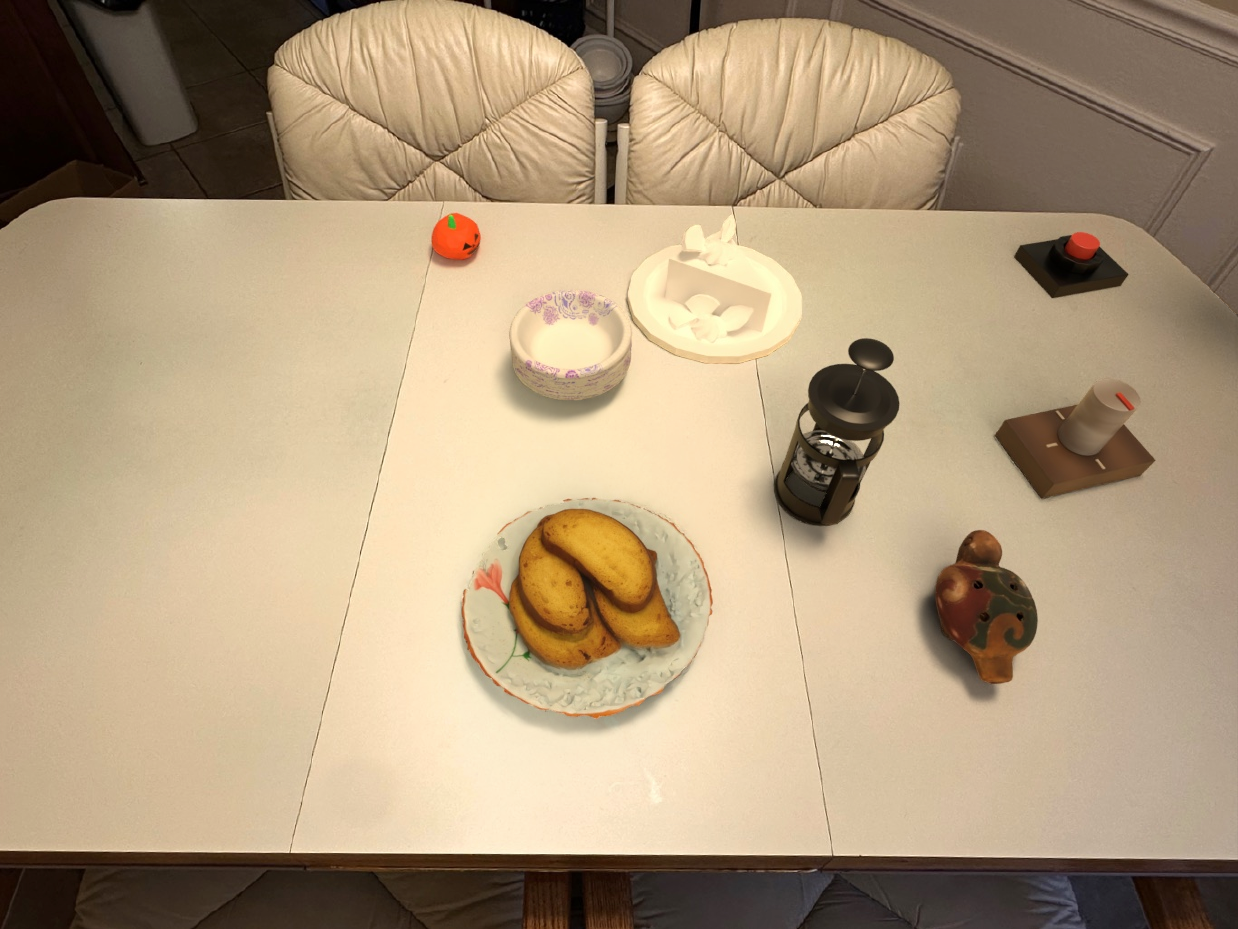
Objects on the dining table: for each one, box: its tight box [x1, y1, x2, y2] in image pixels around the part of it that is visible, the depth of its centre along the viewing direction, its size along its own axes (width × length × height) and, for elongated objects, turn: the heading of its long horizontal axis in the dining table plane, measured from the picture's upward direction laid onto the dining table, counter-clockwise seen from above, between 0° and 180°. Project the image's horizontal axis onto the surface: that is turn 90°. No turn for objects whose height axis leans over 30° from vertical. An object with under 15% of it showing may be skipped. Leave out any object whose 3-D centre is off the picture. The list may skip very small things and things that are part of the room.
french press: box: [773, 337, 901, 527], centre depth 78 cm, size 12×9×23 cm
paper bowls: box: [508, 289, 633, 401], centre depth 95 cm, size 15×15×8 cm
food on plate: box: [461, 497, 714, 720], centre depth 75 cm, size 25×25×7 cm
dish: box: [627, 213, 803, 364], centre depth 102 cm, size 25×25×11 cm
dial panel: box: [994, 403, 1156, 499], centre depth 90 cm, size 14×10×3 cm
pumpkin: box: [430, 212, 482, 260], centre depth 110 cm, size 7×8×6 cm
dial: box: [1058, 377, 1141, 456], centre depth 86 cm, size 5×5×8 cm
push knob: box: [1065, 231, 1101, 260], centre depth 110 cm, size 4×4×2 cm
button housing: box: [1013, 234, 1130, 299], centre depth 112 cm, size 12×10×4 cm
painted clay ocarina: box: [934, 529, 1039, 685], centre depth 75 cm, size 10×15×8 cm, turn 1°
